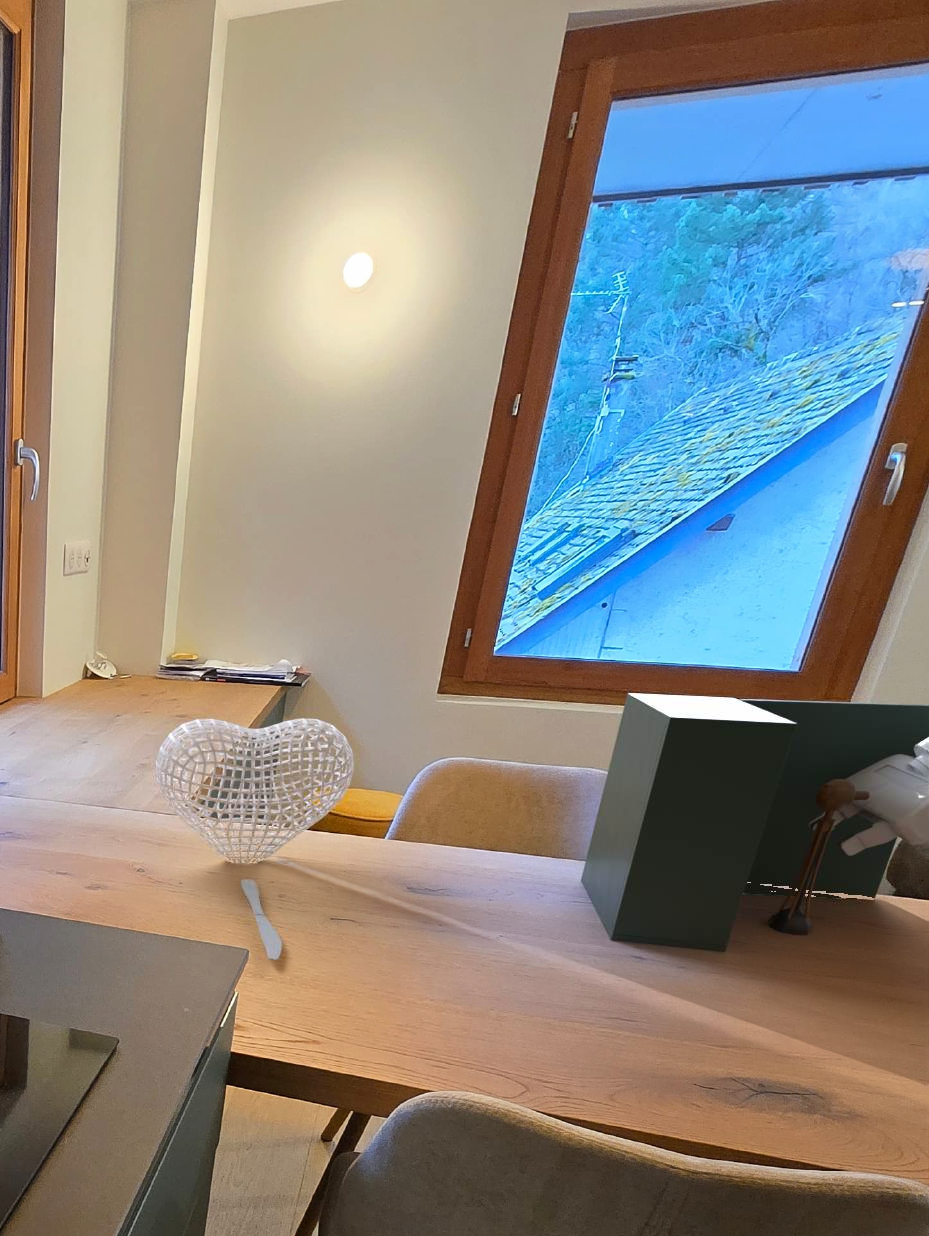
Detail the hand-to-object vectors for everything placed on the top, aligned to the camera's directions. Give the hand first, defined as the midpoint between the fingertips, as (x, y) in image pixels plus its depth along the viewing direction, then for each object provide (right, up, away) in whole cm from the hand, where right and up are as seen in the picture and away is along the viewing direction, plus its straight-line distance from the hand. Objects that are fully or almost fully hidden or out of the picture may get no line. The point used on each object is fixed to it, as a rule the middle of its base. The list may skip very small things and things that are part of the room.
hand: (827, 840), depth 124 cm
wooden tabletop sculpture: (-1, -12, +5) cm, 13 cm away
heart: (-63, 0, +31) cm, 70 cm away
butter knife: (-67, -9, +8) cm, 68 cm away
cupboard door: (+6, -6, +18) cm, 19 cm away
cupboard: (-16, -9, +10) cm, 21 cm away
